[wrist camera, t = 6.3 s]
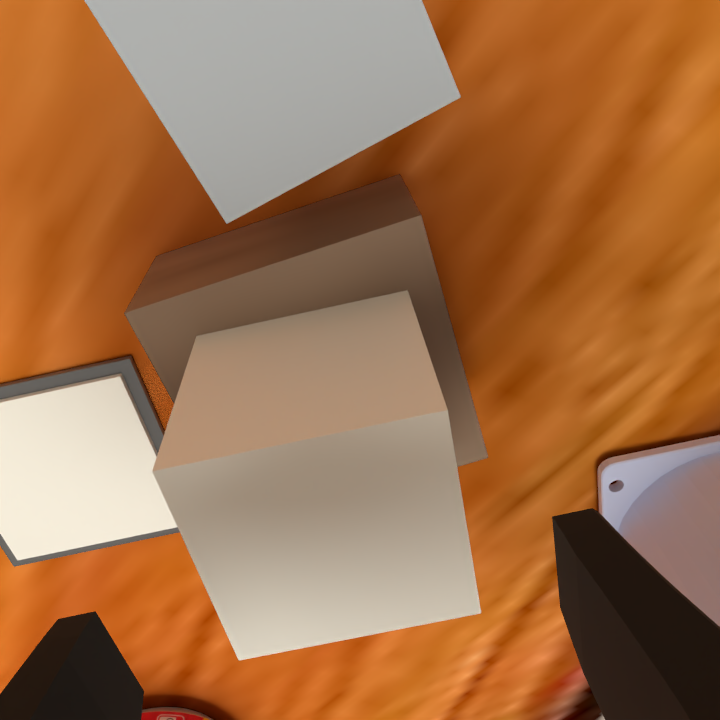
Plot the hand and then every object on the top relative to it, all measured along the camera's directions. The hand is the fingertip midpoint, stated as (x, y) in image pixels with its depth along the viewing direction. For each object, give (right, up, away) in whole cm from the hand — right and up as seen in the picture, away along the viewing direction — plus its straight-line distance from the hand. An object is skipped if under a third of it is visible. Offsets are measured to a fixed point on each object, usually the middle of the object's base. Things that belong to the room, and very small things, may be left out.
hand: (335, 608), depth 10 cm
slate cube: (-1, +12, +5) cm, 13 cm away
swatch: (-9, 0, +11) cm, 14 cm away
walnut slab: (-1, +5, +9) cm, 11 cm away
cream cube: (0, +3, +6) cm, 7 cm away
